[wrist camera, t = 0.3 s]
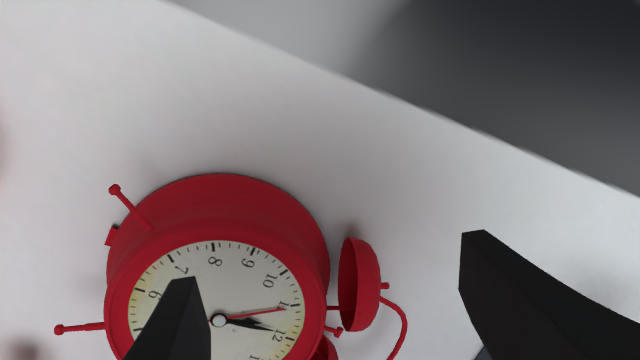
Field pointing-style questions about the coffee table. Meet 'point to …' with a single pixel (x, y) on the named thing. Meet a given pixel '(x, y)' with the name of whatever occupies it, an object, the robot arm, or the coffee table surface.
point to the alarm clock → (237, 270)
